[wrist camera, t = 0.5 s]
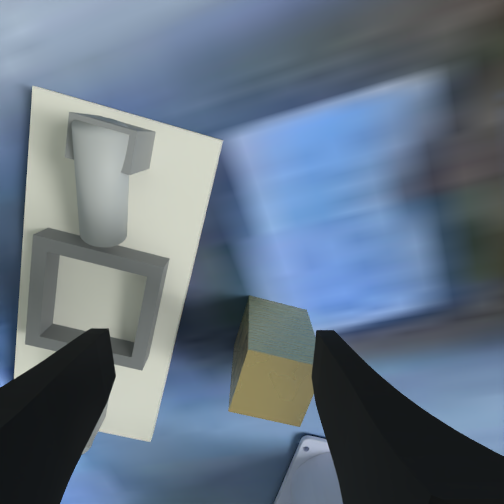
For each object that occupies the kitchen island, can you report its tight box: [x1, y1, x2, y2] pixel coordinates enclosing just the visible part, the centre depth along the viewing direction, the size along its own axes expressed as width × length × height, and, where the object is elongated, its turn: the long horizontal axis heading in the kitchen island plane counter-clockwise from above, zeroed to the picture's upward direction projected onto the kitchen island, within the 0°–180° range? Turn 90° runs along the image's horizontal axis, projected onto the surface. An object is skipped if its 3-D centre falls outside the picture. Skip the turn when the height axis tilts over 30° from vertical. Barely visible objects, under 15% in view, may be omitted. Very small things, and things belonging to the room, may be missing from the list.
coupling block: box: [228, 296, 316, 427], centre depth 21 cm, size 4×4×6 cm
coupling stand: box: [14, 86, 223, 454], centre depth 20 cm, size 22×10×5 cm, turn 165°
